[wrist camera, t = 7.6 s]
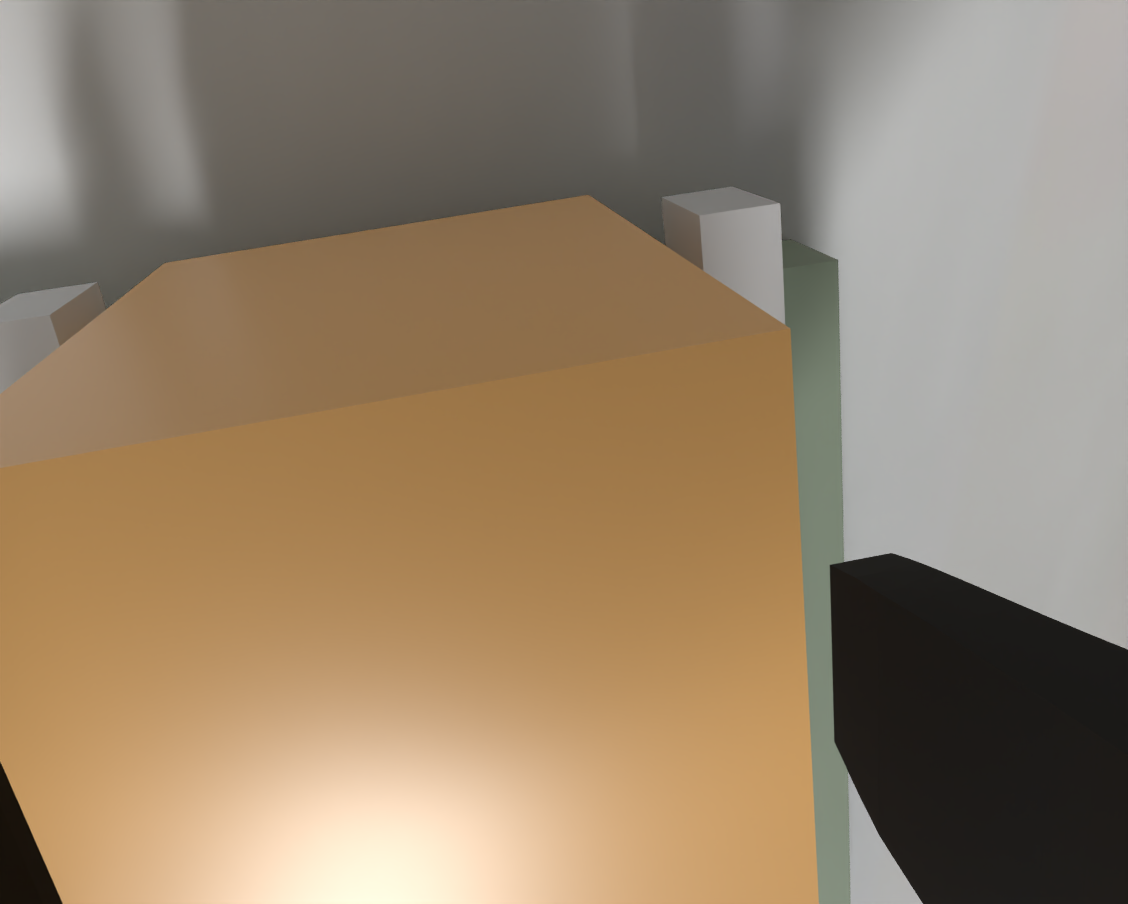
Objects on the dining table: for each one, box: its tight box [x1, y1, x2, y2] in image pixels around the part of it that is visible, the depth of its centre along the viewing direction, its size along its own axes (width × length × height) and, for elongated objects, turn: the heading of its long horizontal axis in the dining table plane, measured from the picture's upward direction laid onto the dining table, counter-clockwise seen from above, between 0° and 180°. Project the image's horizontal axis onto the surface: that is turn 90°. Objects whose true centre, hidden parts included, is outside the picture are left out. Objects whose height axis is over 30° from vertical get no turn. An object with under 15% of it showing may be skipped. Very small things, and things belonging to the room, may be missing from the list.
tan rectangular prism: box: [0, 195, 819, 904], centre depth 9 cm, size 4×8×6 cm, turn 8°
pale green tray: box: [0, 186, 850, 904], centre depth 12 cm, size 16×13×4 cm
